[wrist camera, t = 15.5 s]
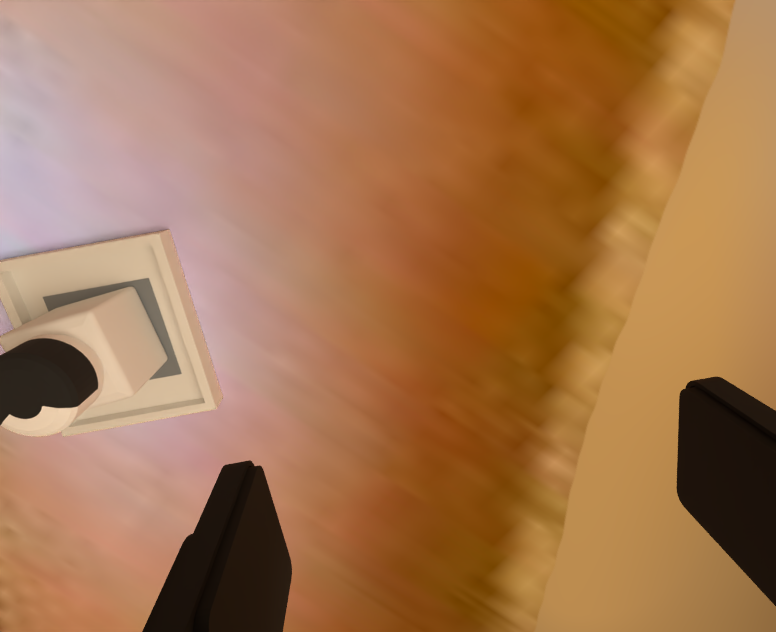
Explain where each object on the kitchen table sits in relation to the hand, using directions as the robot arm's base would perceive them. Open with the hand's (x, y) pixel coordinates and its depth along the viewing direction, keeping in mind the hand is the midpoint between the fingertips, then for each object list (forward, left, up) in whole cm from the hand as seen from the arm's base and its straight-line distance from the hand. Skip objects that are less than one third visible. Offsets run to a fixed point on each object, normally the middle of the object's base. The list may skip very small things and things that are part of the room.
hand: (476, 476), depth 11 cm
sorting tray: (+4, -25, -32) cm, 41 cm away
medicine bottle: (+4, -25, -31) cm, 40 cm away
